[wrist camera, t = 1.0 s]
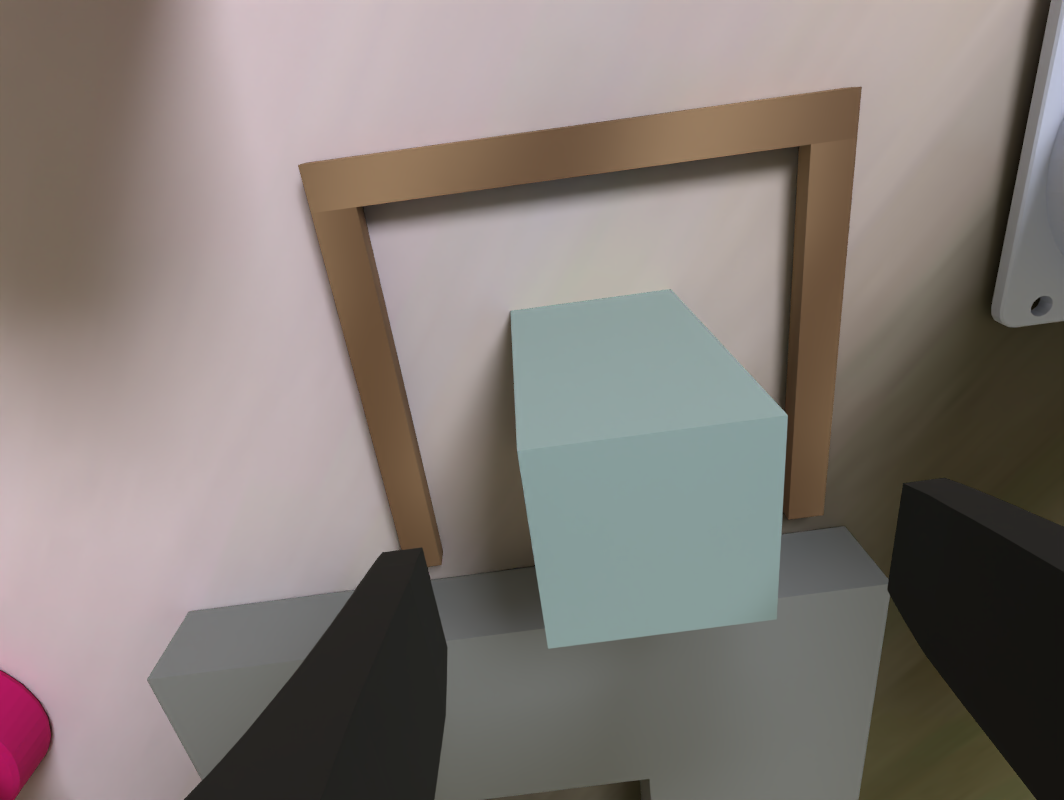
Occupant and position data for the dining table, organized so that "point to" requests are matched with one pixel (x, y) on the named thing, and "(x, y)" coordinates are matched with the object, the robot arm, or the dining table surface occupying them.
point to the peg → (644, 471)
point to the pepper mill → (20, 736)
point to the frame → (582, 150)
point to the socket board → (590, 686)
